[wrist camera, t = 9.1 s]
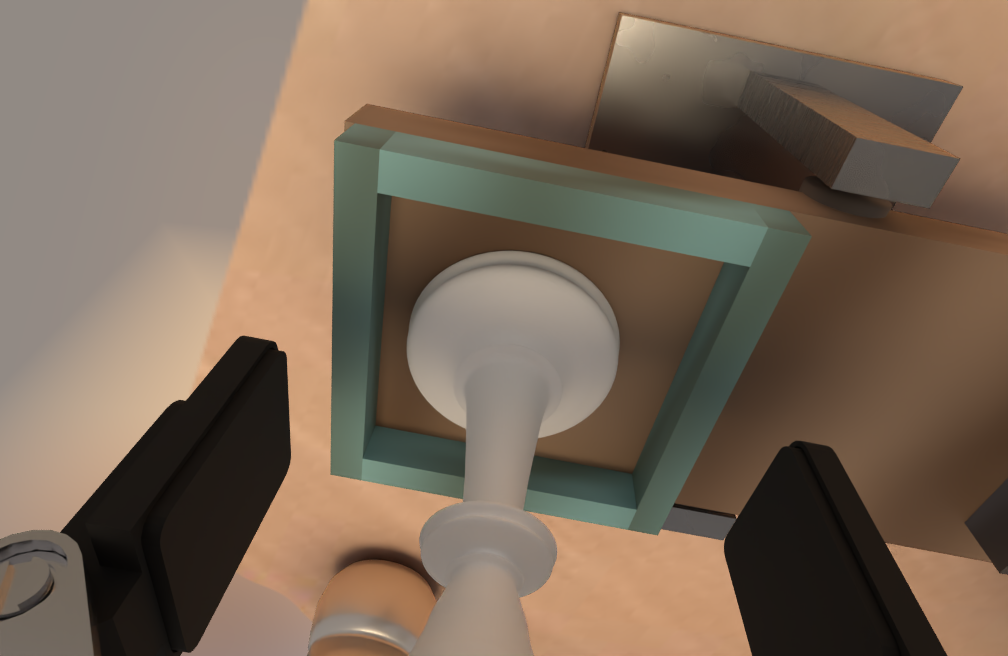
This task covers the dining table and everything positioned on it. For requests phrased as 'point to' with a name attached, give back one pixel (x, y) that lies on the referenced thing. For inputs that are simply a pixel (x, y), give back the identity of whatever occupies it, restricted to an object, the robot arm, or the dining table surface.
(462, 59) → the dining table surface
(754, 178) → the stand
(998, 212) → the dining table surface
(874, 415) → the balance beam
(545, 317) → the chess piece
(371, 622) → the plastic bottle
